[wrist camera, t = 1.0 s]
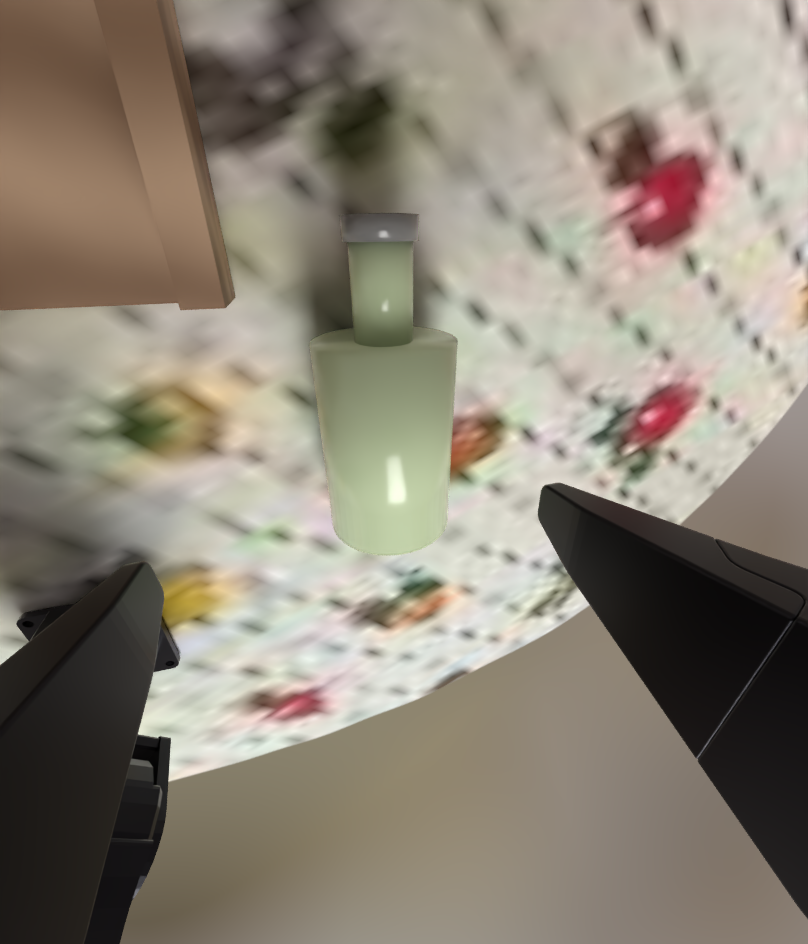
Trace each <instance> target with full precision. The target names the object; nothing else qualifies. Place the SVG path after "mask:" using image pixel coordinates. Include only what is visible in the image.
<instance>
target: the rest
mask: <svg viewBox="0 0 808 944" xmlns="http://www.w3.org/2000/svg"><path fill="white" fill-rule="evenodd" d="M234 298H235V293H234V288H233V284H232V279H231V274H230V269H229V265H228V260H227V255H226V250H225V246H224V241H223V236H222V231H221V227H220V222H219V217H218V212H217V208H216V203H215V198H214V193H213V189H212V184H211V179H210V174H209V170H208V165H207V160H206V155H205V151H204V146H203V141H202V136H201V132H200V127H199V122H198V117H197V113H196V108H195V103H194V98H193V94H192V89H191V84H190V79H189V75H188V70H187V65H186V60H185V56H184V51H183V46H182V41H181V37H180V32H179V27H178V22H177V18H176V13H175V8H174V3H173V0H0V310H22V309H45V308H69V307H92V306H116V305H139V304H163V303H179V307H180V310H193V309H215V308H226V307H227V306H228V305H229V304H230V303H231V302H232V300H233V299H234Z"/></svg>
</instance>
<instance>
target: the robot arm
mask: <svg viewBox="0 0 808 944" xmlns="http://www.w3.org/2000/svg"><path fill="white" fill-rule="evenodd" d="M538 518H539V521H540V523H541V525H542V527H543V528H544V530H545V532H546V534H547V536H548V538H549V540H550V541H551V543H552V545H553V547H554V549H555V551H556V552H557V554H558V556H559V558H560V560H561V562H562V563H563V565H564V567H565V569H566V570H567V572H568V573H569V575H570V576H571V578H572V580H573V581H574V582H575V584H576V585H577V587H578V588H579V590H580V591H581V593H582V594H583V595H584V597H585V598H586V600H587V601H588V603H589V604H590V606H591V607H592V609H593V610H594V611H595V613H596V614H597V616H598V617H599V619H600V620H601V622H602V623H603V624H604V626H605V627H606V629H607V630H608V632H609V633H610V635H611V636H612V637H613V639H614V640H615V642H616V643H617V645H618V646H619V648H620V649H621V651H622V652H623V653H624V655H625V656H626V658H627V659H628V661H629V662H630V664H631V665H632V666H633V668H634V669H635V671H636V672H637V674H638V675H639V677H640V678H641V680H642V681H643V682H644V684H645V685H646V687H647V688H648V690H649V691H650V693H651V694H652V695H653V697H654V698H655V700H656V701H657V703H658V704H659V705H660V707H661V709H662V710H663V711H664V713H665V714H666V716H667V717H668V719H669V720H670V722H671V723H672V724H673V726H674V727H675V729H676V730H677V732H678V733H679V735H680V736H681V737H682V739H683V740H684V742H685V743H686V745H687V746H688V748H689V749H690V750H691V752H692V753H693V755H694V756H695V758H697V759H698V762H699V764H700V765H701V767H702V768H703V770H704V771H705V773H706V774H707V776H708V777H709V779H710V780H711V781H712V783H713V784H714V786H715V787H716V789H717V790H718V792H719V793H720V794H721V796H722V797H723V799H724V800H725V802H726V803H727V804H728V806H729V807H730V809H731V810H732V812H733V813H734V815H735V816H736V818H737V819H738V820H739V822H740V823H741V825H742V826H743V828H744V829H745V830H746V832H747V834H748V835H749V836H750V838H751V839H752V841H753V842H754V844H755V845H756V846H757V848H758V849H759V851H760V852H761V854H762V855H763V857H764V858H765V860H766V861H767V862H768V864H769V865H770V867H771V868H772V870H773V871H774V873H775V874H776V876H777V877H778V878H779V880H780V881H781V883H782V884H783V886H784V887H785V889H786V890H787V891H788V893H789V894H790V896H791V897H792V899H793V900H794V902H795V903H796V904H797V906H798V907H799V908H800V910H801V911H802V912H803V913H804V915H805V916H806V917H807V918H808V569H806V568H803V567H800V566H796V565H793V564H790V563H787V562H783V561H781V560H777V559H774V558H771V557H768V556H765V555H762V554H759V553H756V552H753V551H750V550H748V549H745V548H742V547H739V546H736V545H733V544H730V543H728V542H725V541H722V540H719V539H714V538H713V537H711V536H708V535H705V534H702V533H699V532H697V531H694V530H691V529H688V528H685V527H683V526H680V525H677V524H674V523H671V522H669V521H666V520H663V519H660V518H657V517H655V516H652V515H649V514H646V513H643V512H641V511H638V510H635V509H632V508H629V507H627V506H624V505H621V504H618V503H615V502H613V501H610V500H607V499H604V498H601V497H599V496H596V495H593V494H590V493H588V492H585V491H582V490H579V489H576V488H574V487H571V486H568V485H565V484H562V483H553V484H548V485H545V486H543V488H542V490H541V495H540V502H539V508H538ZM163 602H164V593H163V589H162V586H161V584H160V583H159V581H158V579H157V577H156V575H155V573H154V571H153V569H152V567H151V565H150V564H149V563H148V562H145V561H141V562H135V563H130V564H126V565H123V566H122V567H120V568H119V569H118V570H117V571H115V572H114V573H113V574H112V575H111V576H109V577H108V578H107V579H106V580H104V581H103V582H102V583H101V584H99V585H98V586H97V587H96V588H95V589H93V590H92V591H91V592H90V593H88V594H87V595H86V596H85V597H84V598H82V599H81V600H80V601H79V602H77V603H76V604H72V605H67V606H61V607H55V608H49V609H43V610H38V611H32V612H27V613H24V614H23V615H21V617H20V618H19V620H18V621H17V626H18V628H19V629H20V630H21V631H22V633H23V634H24V635H25V637H26V638H27V639H28V641H29V642H28V643H27V644H26V645H25V646H23V647H22V648H21V649H20V650H18V651H17V652H16V653H15V654H13V655H12V656H11V657H10V658H9V659H7V660H6V661H5V662H4V663H2V664H1V665H0V944H119V943H120V940H121V936H122V932H123V929H124V925H125V922H126V918H127V914H128V911H129V907H130V905H131V901H132V900H133V899H134V897H135V896H136V894H137V893H138V891H139V890H140V888H141V886H142V884H143V882H144V880H145V878H146V877H147V874H148V872H149V870H150V867H151V865H152V863H153V860H154V858H155V855H156V852H157V849H158V846H159V843H160V840H161V836H162V833H163V828H164V823H165V817H166V809H167V792H168V776H169V760H170V744H171V738H167V737H162V736H160V737H159V738H155V737H150V736H144V735H138V731H139V727H140V723H141V719H142V716H143V712H144V708H145V704H146V700H147V696H148V692H149V688H150V684H151V681H152V676H153V672H156V671H161V670H166V669H171V668H174V667H176V666H178V664H179V661H180V655H179V653H178V651H177V649H176V647H175V645H174V643H173V641H172V639H171V637H170V635H169V633H168V630H167V628H166V626H165V624H164V622H163V620H162V618H161V617H162V610H163Z"/></svg>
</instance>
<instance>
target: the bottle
mask: <svg viewBox="0 0 808 944" xmlns="http://www.w3.org/2000/svg"><path fill="white" fill-rule="evenodd" d="M340 227H341V240H342V242H347V246H348V260H349V273H350V287H351V301H352V314H353V328H348V329H342V330H337V331H332V332H328V333H325V334H322V335H319V336H317V337H315V338H314V339H312V340H311V341H310V343H309V346H310V354H311V362H312V369H313V377H314V385H315V392H316V400H317V408H318V416H319V423H320V431H321V439H322V446H323V454H324V462H325V469H326V477H327V485H328V492H329V500H330V508H331V516H332V523H333V528H334V531H335V533H336V535H337V536H338V537H339V539H341V540H342V541H343V542H344V543H345V544H347V545H348V546H350V547H352V548H354V549H356V550H358V551H361V552H365V553H369V554H374V555H386V556H388V555H401V554H406V553H411V552H414V551H417V550H420V549H422V548H424V547H427V546H428V545H430V544H431V543H433V542H434V541H435V540H437V539H438V538H439V537H440V536H441V535H442V533H443V532H444V530H445V528H446V525H447V519H448V501H449V483H450V466H451V448H452V430H453V413H454V395H455V377H456V360H457V338H456V337H455V336H453V335H451V334H449V333H447V332H444V331H440V330H435V329H430V328H423V327H413V241H419V214H406V213H369V214H346V215H340Z"/></svg>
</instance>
